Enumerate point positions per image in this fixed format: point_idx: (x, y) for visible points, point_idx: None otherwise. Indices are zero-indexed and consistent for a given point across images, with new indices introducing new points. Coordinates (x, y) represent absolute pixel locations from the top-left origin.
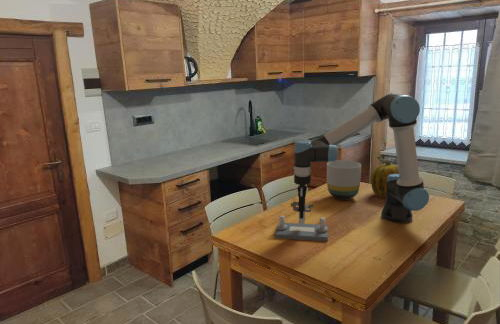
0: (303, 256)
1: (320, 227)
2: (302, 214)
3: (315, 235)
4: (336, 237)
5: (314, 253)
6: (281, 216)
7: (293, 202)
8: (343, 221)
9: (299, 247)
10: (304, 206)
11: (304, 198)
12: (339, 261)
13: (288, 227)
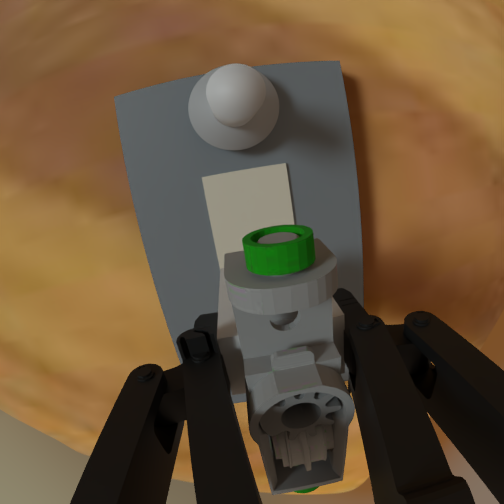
0: (497, 186)
1: (252, 117)
2: (364, 313)
3: (337, 144)
4: (252, 21)
5: (472, 138)
6: None
7: (296, 488)
8: (4, 58)
9: (436, 220)
10: (337, 360)
11: (421, 465)
12: (490, 38)
13: None
